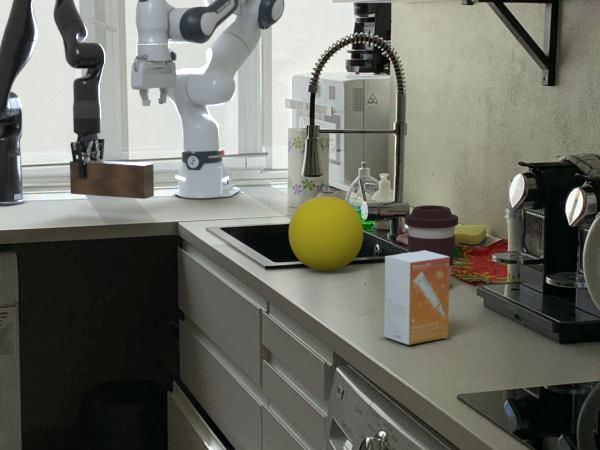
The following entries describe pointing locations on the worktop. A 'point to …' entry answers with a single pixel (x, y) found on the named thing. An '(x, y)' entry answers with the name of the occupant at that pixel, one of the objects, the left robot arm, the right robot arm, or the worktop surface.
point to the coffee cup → (432, 230)
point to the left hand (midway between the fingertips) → (88, 177)
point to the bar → (114, 179)
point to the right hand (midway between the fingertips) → (154, 105)
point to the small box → (416, 297)
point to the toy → (325, 233)
